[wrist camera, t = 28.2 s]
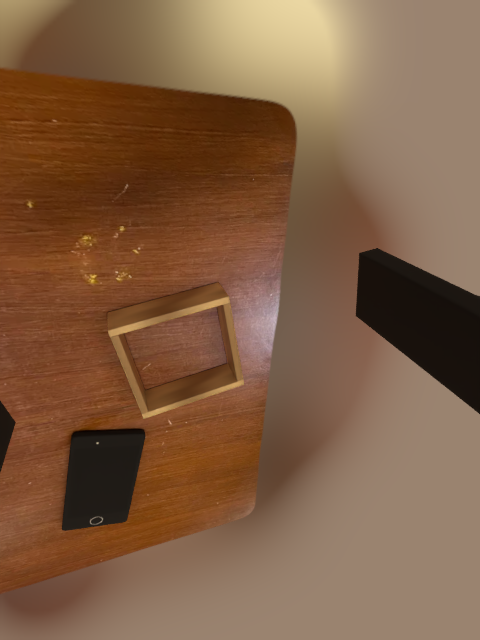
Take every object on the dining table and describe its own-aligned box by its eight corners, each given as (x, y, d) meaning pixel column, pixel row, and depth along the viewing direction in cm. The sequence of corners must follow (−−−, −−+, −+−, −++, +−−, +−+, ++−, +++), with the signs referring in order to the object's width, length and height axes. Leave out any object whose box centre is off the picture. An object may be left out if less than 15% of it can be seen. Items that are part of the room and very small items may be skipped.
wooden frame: (218, 281, 39) (229, 296, 36) (234, 366, 46) (244, 384, 43) (107, 312, 37) (107, 330, 34) (140, 396, 44) (143, 419, 40)
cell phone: (62, 525, 49) (61, 531, 49) (72, 431, 42) (71, 437, 42) (126, 516, 53) (126, 522, 52) (145, 428, 46) (146, 434, 45)
